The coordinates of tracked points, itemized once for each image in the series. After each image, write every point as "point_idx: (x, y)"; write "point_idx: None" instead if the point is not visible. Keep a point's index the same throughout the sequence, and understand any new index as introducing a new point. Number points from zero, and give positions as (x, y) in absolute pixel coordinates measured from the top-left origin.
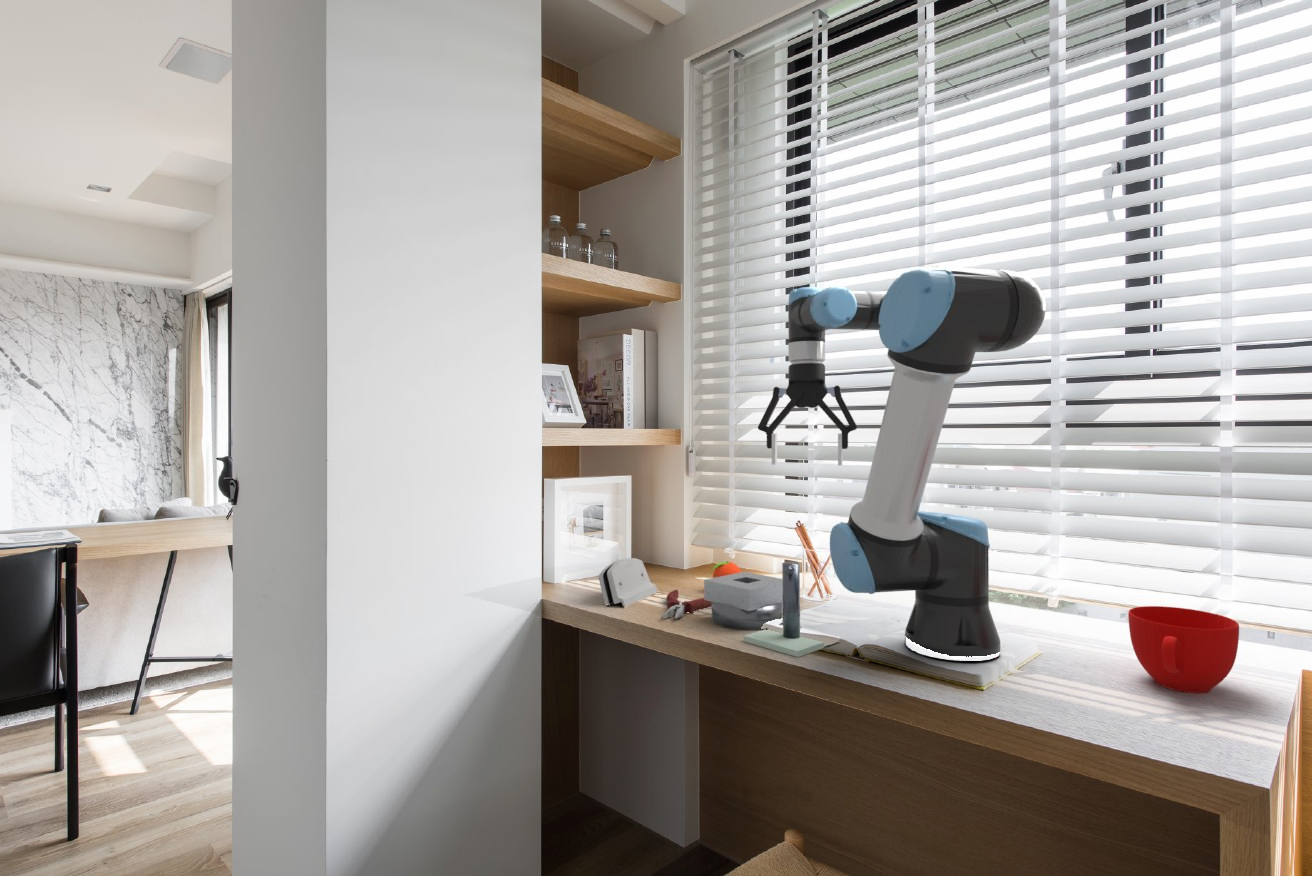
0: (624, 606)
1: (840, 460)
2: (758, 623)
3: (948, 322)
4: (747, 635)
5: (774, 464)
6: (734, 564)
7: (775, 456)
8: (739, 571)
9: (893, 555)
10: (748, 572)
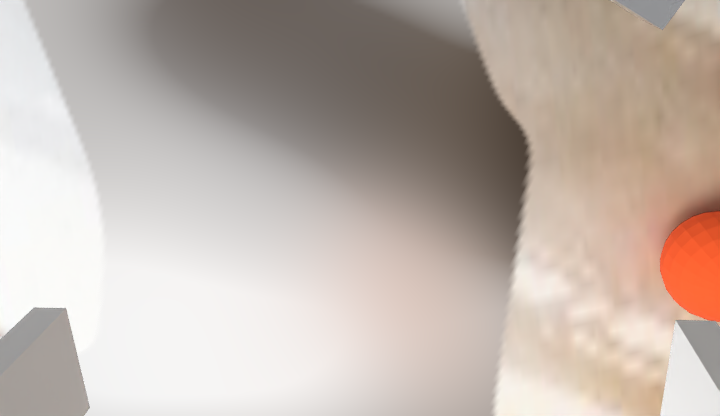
0: None
1: (19, 334)
2: None
3: None
4: None
5: (684, 321)
6: (710, 288)
7: (704, 386)
8: (680, 268)
9: None
10: (643, 14)
